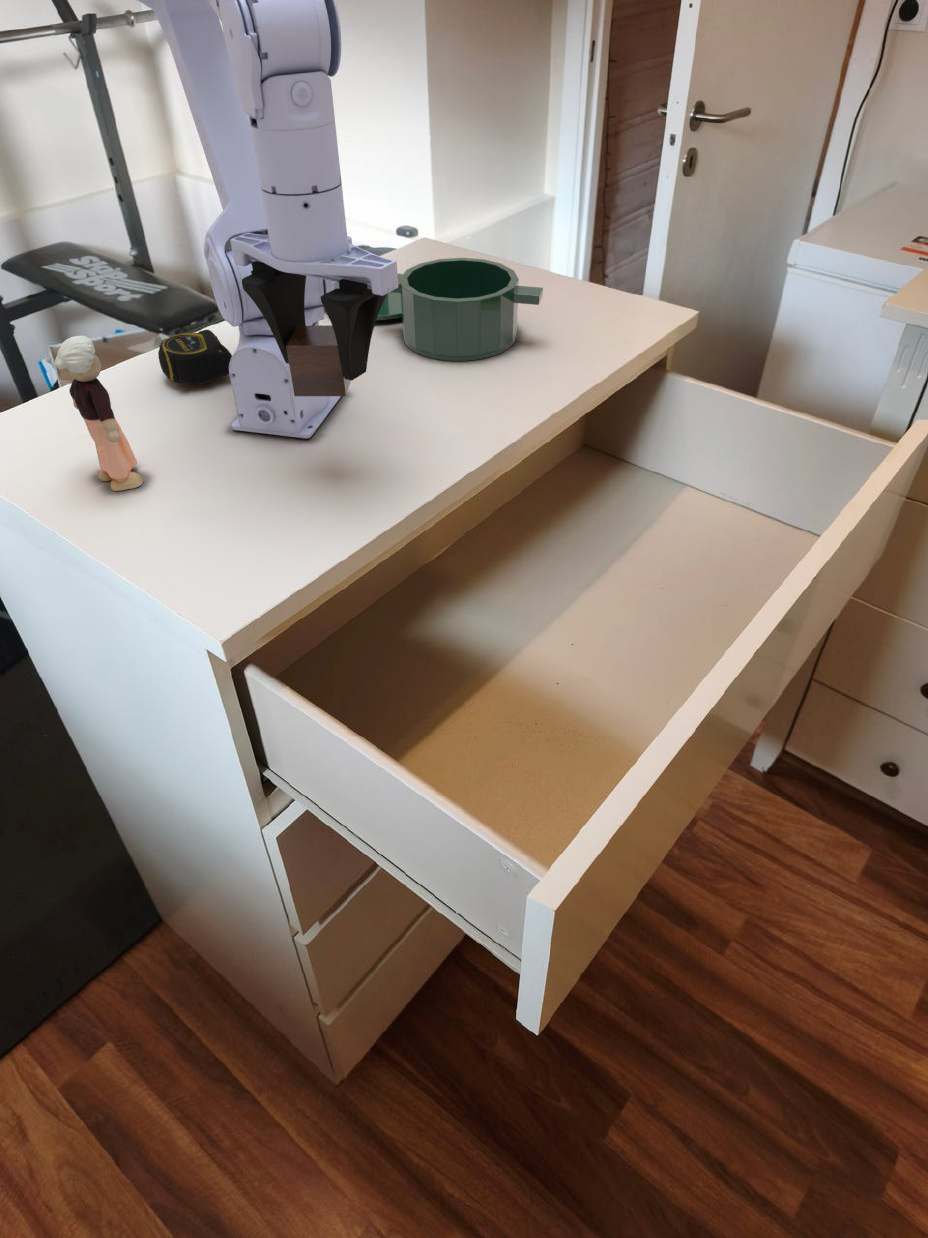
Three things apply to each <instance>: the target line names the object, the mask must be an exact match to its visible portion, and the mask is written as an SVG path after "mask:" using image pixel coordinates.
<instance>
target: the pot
mask: <svg viewBox="0 0 928 1238" xmlns="http://www.w3.org/2000/svg"><path fill="white" fill-rule="evenodd" d="M402 274H403V275H402V276H398V288H396V289H395V290H393V291H391V292H393V293H401V308H402V317H401V324H402V334H403V341H404V343H405V345H406V346H407V347H408V348H409V350H411V351H413V352H415V354H418V355H420V356H423V357H427V358H430V359H433V360H440V361H449V362H467V361H468V362H469V361H477V360H483V359H487V358H491V357H495V356H497V355H499V354H500V355H501V354H502V353H504V352H506V351H507V350H508V349H510V348H511V347H512V346H513V345H514V343H515V342H516V337H517V336H516V335H517V333H518V313H519V312H518V311H519V310H518V309H519V308H518V307H519V304H521V305H534V306H535V305H536V306H539V305H540V303H541V301H542V299H543V296H544V295H543V294H544V287H539V286H529V285H528V286H527V285H519V281H520V279H519V276H518V275H517V273H516V272H515V270H514V269H512V268H510V267H508V266H507V265H505V264H503V263H500V262H498V261H497V262H495V261H493V260H488V259H484V258H471V257H453V258H438V259H433V260H430V261H424V262H420V263H418V264H416V265H413V266H412V267H409V268H407V269H406V270H405V271H404V272H403V273H402Z"/></svg>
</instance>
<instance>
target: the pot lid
mask: <svg viewBox="0 0 928 1238" xmlns="http://www.w3.org/2000/svg"><path fill="white" fill-rule="evenodd" d="M403 274H404V273H398V276H402V275H403ZM336 288H338V289H339V283H338V282H334V289H336ZM400 318H401V319H402V308H401V293H393V292H389V293H387V295H386V297H385V300H384V302H383V304H382V306H381V309H380V311H379V314H378V316H377V319H376V321H386V320H394V319H400Z"/></svg>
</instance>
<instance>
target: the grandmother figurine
mask: <svg viewBox="0 0 928 1238" xmlns="http://www.w3.org/2000/svg"><path fill="white" fill-rule="evenodd" d="M56 353H57V355H56V357H55V358H54V359H55V360H54V364H53V365H54V367H55V368H57V369H58V370H59V371H61V370H66V371H67V373H68V374H69V375H70V376H71V378H73V380H72V381H71V384H70V387H69V395H70V397H71V400H72V401H73V402H72V403H73V407H74V408H75V409H77V410H78V412H79V414H80V416H81V417H82V419H83V421H84V423H85V425H86V428H87V430H88V433H89V436H90V437H91V439H92V440H93V442H94V445H95V450H96V455H97V459H98V464H99V467H100V469H101V470H100V471H99V472H98V476H97V477H98V479H99V481H102V482H109V481H110V484H109V485H110V489H111V490H112V491H114V492H120V491H125V490H132V489H137V488H138V487H140V486H142V485H143V483H144V478H143V476H141V474H140V473H138V472H135V471H132V469H134V468H135V467H136V466H137V464H138V460H137V458H136V456H135V454H134V451H133V449H132V447H131V445H130V443H129V441H128V439H127V437H126V435H125V433H124V432H123V430H122V427H121V426H120V424H119V422H118V420H117V418H116V417H115V414H114V411H113V408H112V403H111V397H110V394H109V392H108V390H107V389H106V387H104V385H103V384H102V382H101V381H100V380H99V378H98V377H99V376H100V374H101V371H102V364H101V361H100V358H99V356H98V355H97V354H96V348H95V345H94V343H93V341H92V339H91V338H89V337H88V336H86V335H75V336H71V337H69V338H67V339H65V340H64V341H63V342H62V343H61V345H60V346H59V348H58V350H57V352H56Z"/></svg>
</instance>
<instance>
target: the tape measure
mask: <svg viewBox="0 0 928 1238" xmlns="http://www.w3.org/2000/svg"><path fill="white" fill-rule="evenodd" d="M157 355H158V360H159V365H160V369H161V371H162V372H163V374H164V375H165V377H166V378H168V379H169V380H171V381H172V382H174V383H177V384H181V385H190V386H191V385H203V384H207V383H209V382H212V381H215V380H217V379H220V378H223V377H226V376H229V363H230V360H231V357H232V356H233V354H232V353H231V352H230V350H229V349H228V348H227V347H226V346H224V345H223V344H222V343H221V341H220V340H219V339H218V336H217V335H215V333H214V332H213V331H212V330H210V329H203V330H200V331H198V332H181V333H178V334H174V335H171V336H169V337H167V338H165V339H164V340H163V341H162V342H161V343H160V345H159V348H158V352H157Z"/></svg>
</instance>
